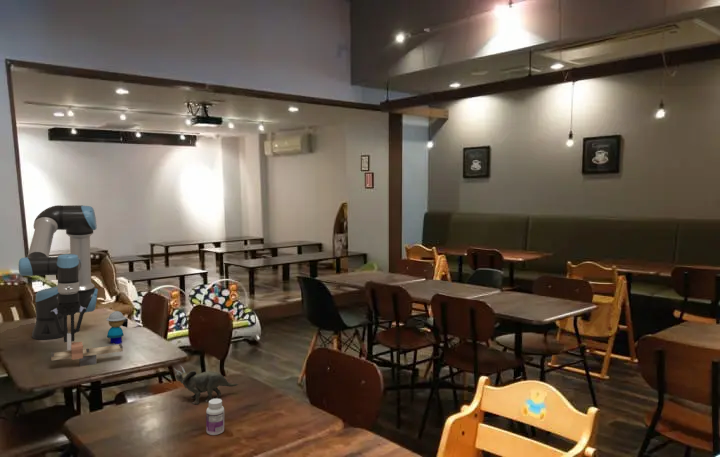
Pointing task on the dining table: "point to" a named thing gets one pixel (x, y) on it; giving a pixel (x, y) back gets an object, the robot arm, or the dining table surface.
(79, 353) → the pink block
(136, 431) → the dining table surface
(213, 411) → the pill bottle
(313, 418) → the dining table surface
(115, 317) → the toy
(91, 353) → the beam
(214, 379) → the dinosaur figurine
